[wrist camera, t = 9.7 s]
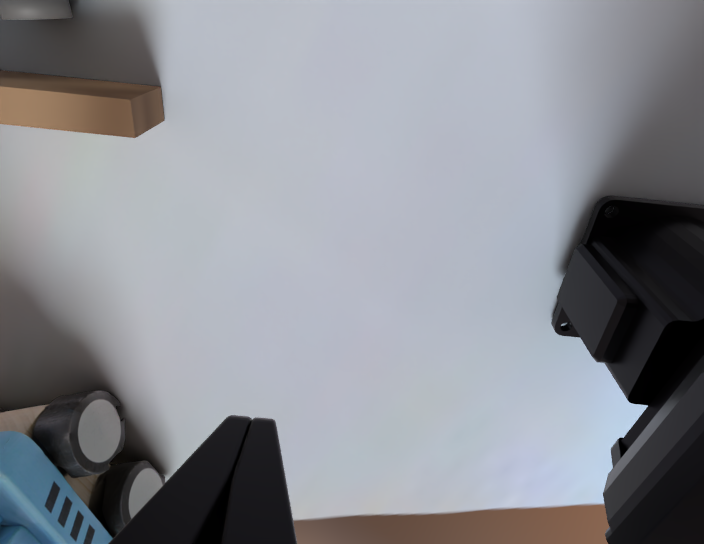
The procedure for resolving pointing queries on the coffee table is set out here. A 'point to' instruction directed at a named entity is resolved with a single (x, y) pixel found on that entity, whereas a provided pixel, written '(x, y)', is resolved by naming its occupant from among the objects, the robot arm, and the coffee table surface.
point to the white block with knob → (34, 9)
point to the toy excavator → (68, 473)
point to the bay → (79, 104)
